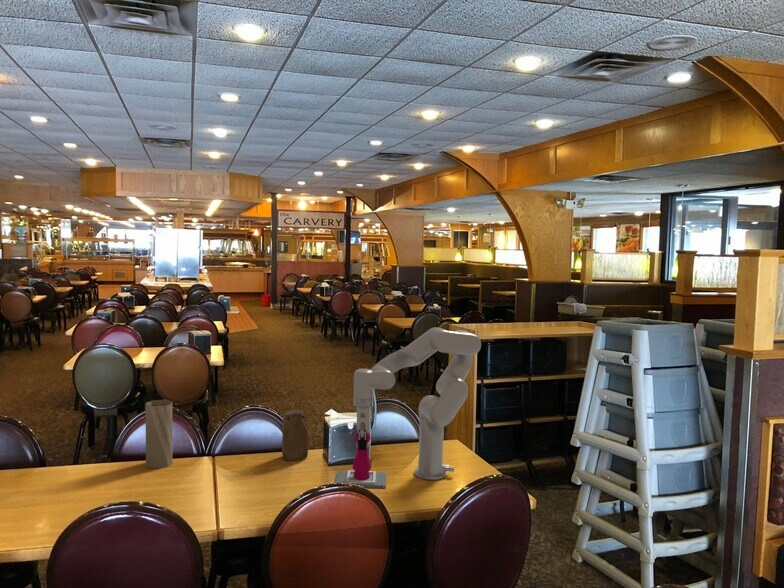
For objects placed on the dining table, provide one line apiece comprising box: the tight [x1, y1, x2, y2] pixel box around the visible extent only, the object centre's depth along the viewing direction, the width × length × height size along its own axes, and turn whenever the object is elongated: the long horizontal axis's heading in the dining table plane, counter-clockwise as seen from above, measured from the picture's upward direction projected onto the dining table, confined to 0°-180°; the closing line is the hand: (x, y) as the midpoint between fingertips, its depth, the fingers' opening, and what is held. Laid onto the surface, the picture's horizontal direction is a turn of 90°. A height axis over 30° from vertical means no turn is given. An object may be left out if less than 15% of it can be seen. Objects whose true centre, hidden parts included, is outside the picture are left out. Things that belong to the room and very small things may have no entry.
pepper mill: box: [352, 431, 372, 480], centre depth 238 cm, size 7×7×20 cm
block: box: [281, 409, 309, 462], centre depth 259 cm, size 11×8×20 cm
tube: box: [145, 399, 173, 470], centre depth 248 cm, size 10×10×25 cm
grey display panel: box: [334, 470, 387, 489], centre depth 238 cm, size 19×13×2 cm
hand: (362, 445), depth 237 cm, fingers open, 9 cm apart
